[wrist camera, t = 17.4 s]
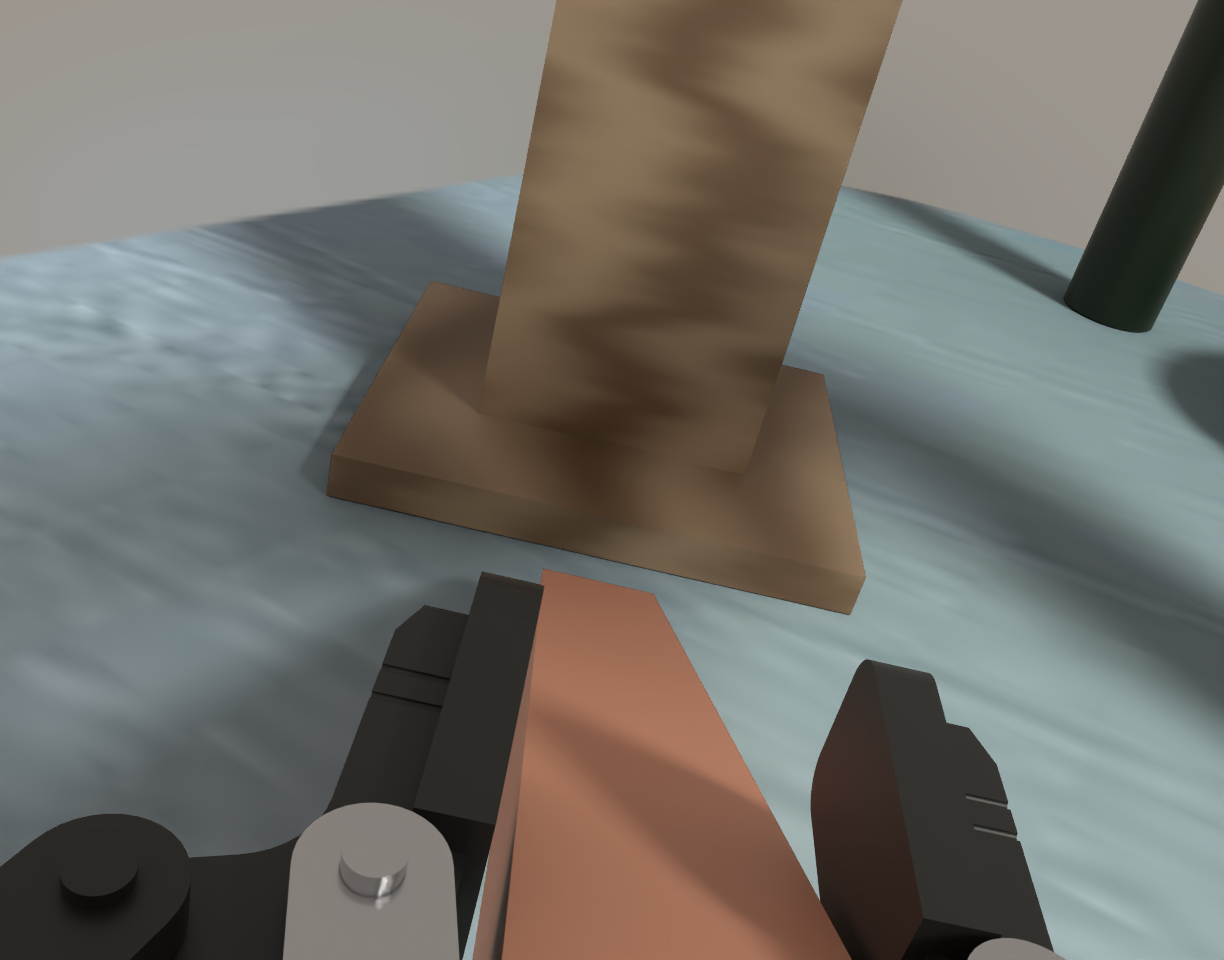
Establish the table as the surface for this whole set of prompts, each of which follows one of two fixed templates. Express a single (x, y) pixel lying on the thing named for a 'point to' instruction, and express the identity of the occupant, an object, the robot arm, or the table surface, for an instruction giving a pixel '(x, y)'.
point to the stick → (634, 806)
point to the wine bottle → (1160, 187)
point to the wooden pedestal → (648, 308)
